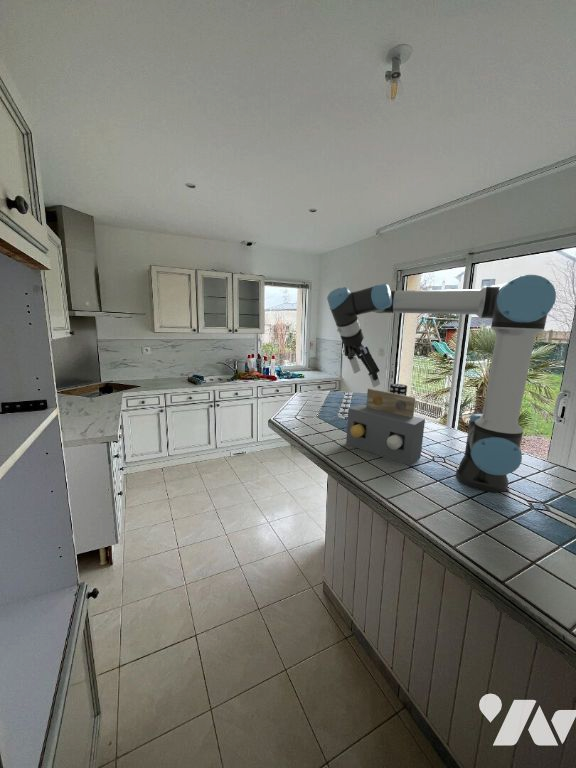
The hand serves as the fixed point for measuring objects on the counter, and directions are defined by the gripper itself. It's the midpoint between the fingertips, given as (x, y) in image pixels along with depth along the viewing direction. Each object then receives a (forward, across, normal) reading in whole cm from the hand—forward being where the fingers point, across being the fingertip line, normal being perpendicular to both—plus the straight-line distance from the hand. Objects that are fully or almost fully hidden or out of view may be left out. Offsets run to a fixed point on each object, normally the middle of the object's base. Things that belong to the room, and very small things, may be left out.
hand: (366, 378), depth 120 cm
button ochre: (+22, +2, -13) cm, 25 cm away
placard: (+18, +3, +3) cm, 19 cm away
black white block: (+51, -20, +15) cm, 57 cm away
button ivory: (+23, +16, -5) cm, 28 cm away
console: (+30, +8, -7) cm, 32 cm away
